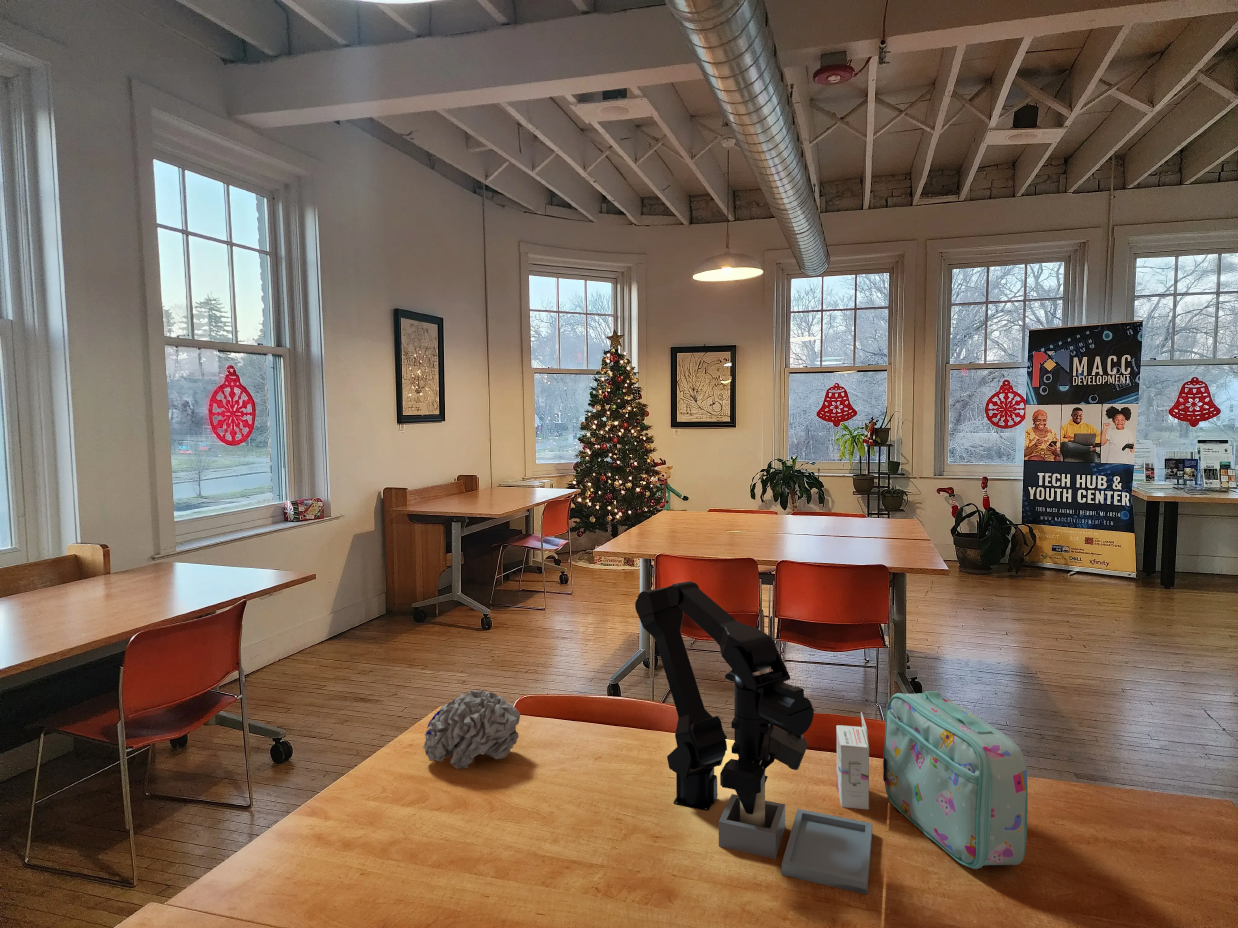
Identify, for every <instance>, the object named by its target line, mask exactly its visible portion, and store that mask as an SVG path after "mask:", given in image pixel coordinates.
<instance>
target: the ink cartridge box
mask: <svg viewBox="0 0 1238 928" xmlns="http://www.w3.org/2000/svg"><path fill="white" fill-rule="evenodd" d="M863 714H864V713H863V711H860V718H861V726H854V725H853V726H852V725H838V724H837V725H836V726H835V727H836V787H837V788H836V789H837V792H838V797H839V802H840V807H841V808H847V809H848V808H849V809H859V810H860V809H861V810H870V746H869V733H868V728H867V724H866V721H865V718H864V715H863Z"/></svg>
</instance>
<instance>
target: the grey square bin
mask: <svg viewBox="0 0 1238 928" xmlns="http://www.w3.org/2000/svg"><path fill="white" fill-rule="evenodd" d="M785 830H786V804H785V803H782V802H781V803H780V802H777V801H776V802H775V801H770V800H766V799H765V828H764V827H759V826H754V825H749V824H745V823H740V799H739V797H738V795H737V794H733V793H731V794H730V797H729V799H728V802H727V803H726V805H725V807H724V810H723V812H722V813H721V816H720V818H719V820H718V847H720V848H725V849H728V850H729V849H730V850H734V851H738V852H742V853H748V854H751V855H754V856H755V855H756V856H760V857H764V858H770V859H774V860H776V859H777V856H778V852H779V850H780V846H781V844H782V840H783V836H784V833H785Z"/></svg>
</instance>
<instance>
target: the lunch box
mask: <svg viewBox="0 0 1238 928" xmlns="http://www.w3.org/2000/svg"><path fill="white" fill-rule="evenodd" d="M884 726H885V731H884V732H885V734H884V747H883V756H882V757H883V758H882V759H883V761H882V763H883V764H882V769H883V774H882V781H883V782H884V787H885V792H886V795H887V798H888V799H889V802H890V803H891V804H892V805H893V806H894V808H896V809H897V810H898V811H899V812H900V813H901V814H902V815H903V816H904V817H905V818H906V819H907V820H908V821H909V822H910V823H912V824H913V825H914V826H915V827H916V828H918V829H919V830H920V831H921V832H922V833H923V834H924V835H925V836H926V837H928V838H929V839H930V840H932V842H935V844H937V845H938V846H939V847H940V848H941V849H943V850H944V851H945V852H946V853H947V854H948V855H950V856H951V857H952V858H953V859H954V860H955V861H957V862H958V863H959V864H961V865H963V866H965V867H968V868H970V869H973V870H978V869H981V868H982V867H983V866H1011V865H1012V866H1017V865H1019V864H1021V863H1022V862H1023V860H1024V858H1025V855H1026V850H1027V849H1026V847H1027V837H1028V836H1027V833H1028V814H1029V813H1028V803H1029V801H1028V798H1029V797H1028V795H1029V793H1028V792H1029V791H1028V769H1027V764H1026V763H1027V762H1026V760H1025V756H1024V754H1023V752H1022V750H1021V749H1020V747H1019V746H1018V745H1017V744H1016V743H1015V742H1014V741H1013V740H1012V739H1011V738H1009V737H1008V736H1007V735H1006V734H1004V733H1002V732H1001V731H1000V730H998V729H997V728H995V727H994V726H992V725H991V724H989V723H987V722H986V721H985V720H983V719H981V718H980V717H978V716H977V715H975V714H973V713H972V712H970V711H969V710H967V709H965V708H964V707H962V706H961V705H960V704H959V705H958V704H957V703H956V702H953V701H952V700H950V699H949V698H946V697H944V696H942V695H941V693H940V692H939V691H936V690H935V691H925V692H921V693H920V692H919V693H901V692H897V693H895V694H893V695H892V696H891V697H890V698H889V700H888V701H887V705H886V709H885V725H884Z"/></svg>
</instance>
